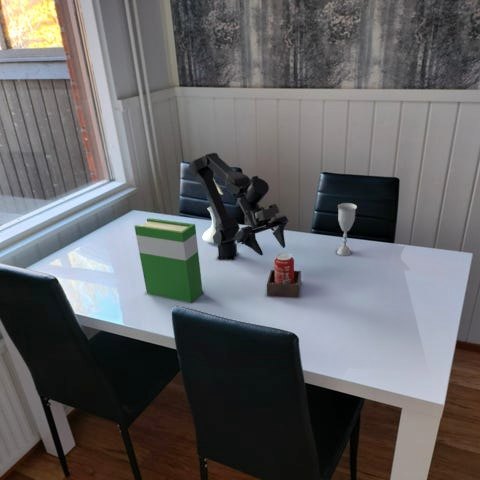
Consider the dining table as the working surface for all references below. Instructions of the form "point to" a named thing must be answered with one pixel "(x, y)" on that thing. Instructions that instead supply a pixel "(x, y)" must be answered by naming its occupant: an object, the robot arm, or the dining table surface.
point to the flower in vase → (211, 231)
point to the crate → (284, 286)
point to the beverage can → (284, 269)
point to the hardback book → (170, 259)
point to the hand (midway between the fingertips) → (273, 251)
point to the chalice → (346, 223)
